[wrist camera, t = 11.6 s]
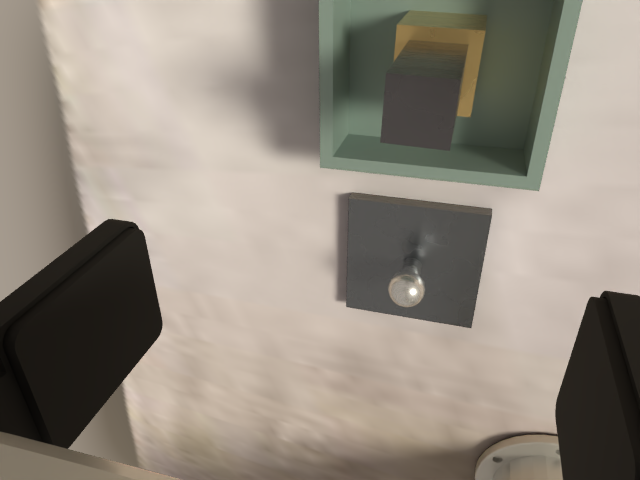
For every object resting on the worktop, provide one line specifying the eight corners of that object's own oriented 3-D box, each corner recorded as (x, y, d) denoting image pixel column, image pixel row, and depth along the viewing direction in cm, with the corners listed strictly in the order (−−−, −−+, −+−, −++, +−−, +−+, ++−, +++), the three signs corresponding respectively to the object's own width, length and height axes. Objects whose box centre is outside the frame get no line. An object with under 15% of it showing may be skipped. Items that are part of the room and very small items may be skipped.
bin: (533, 158, 34) (538, 191, 30) (339, 140, 37) (320, 167, 33) (584, -75, 28) (599, -74, 24) (341, -74, 31) (318, -72, 27)
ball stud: (471, 320, 42) (468, 366, 38) (349, 299, 45) (333, 341, 40) (491, 208, 37) (491, 248, 33) (351, 192, 39) (333, 226, 35)
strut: (486, 15, 30) (482, 63, 20) (473, 91, 33) (463, 168, 23) (410, 10, 31) (370, 53, 21) (402, 85, 34) (363, 155, 24)
